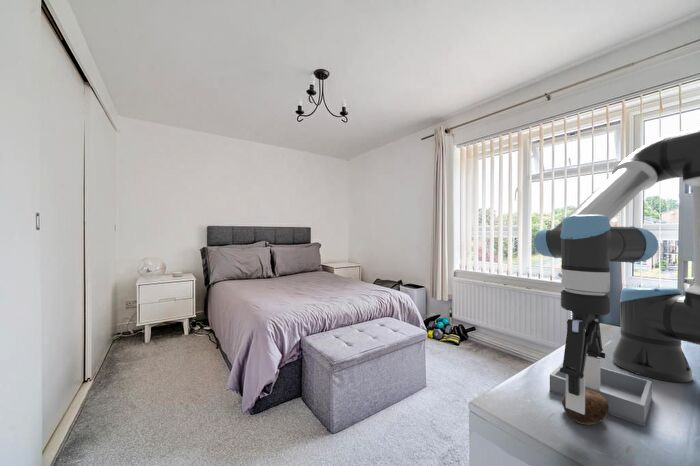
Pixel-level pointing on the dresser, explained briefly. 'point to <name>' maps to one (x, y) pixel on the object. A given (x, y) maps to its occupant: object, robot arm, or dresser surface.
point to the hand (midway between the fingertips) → (584, 398)
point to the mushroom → (589, 409)
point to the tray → (615, 393)
